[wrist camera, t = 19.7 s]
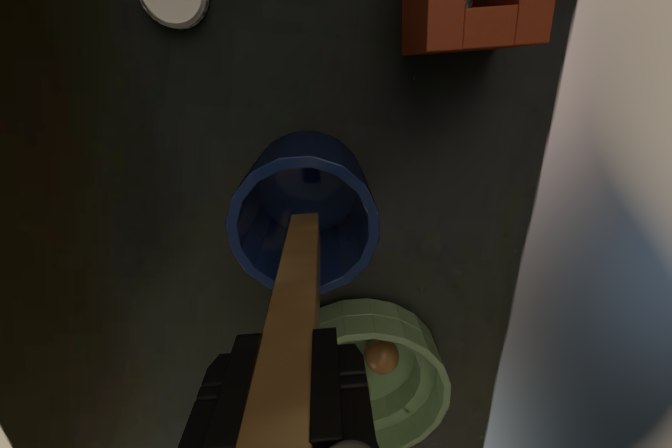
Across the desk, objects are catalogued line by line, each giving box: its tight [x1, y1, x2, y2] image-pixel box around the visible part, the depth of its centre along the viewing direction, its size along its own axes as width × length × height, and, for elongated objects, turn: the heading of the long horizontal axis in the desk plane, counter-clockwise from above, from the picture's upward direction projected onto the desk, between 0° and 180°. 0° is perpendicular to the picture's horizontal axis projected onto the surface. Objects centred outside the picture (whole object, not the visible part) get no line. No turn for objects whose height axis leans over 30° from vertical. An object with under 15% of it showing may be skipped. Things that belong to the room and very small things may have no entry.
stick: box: [235, 213, 321, 448], centre depth 14 cm, size 2×2×16 cm
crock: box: [225, 131, 379, 294], centre depth 23 cm, size 8×8×8 cm
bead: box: [364, 339, 399, 375], centre depth 31 cm, size 3×3×3 cm
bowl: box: [320, 298, 451, 448], centre depth 31 cm, size 14×14×5 cm
